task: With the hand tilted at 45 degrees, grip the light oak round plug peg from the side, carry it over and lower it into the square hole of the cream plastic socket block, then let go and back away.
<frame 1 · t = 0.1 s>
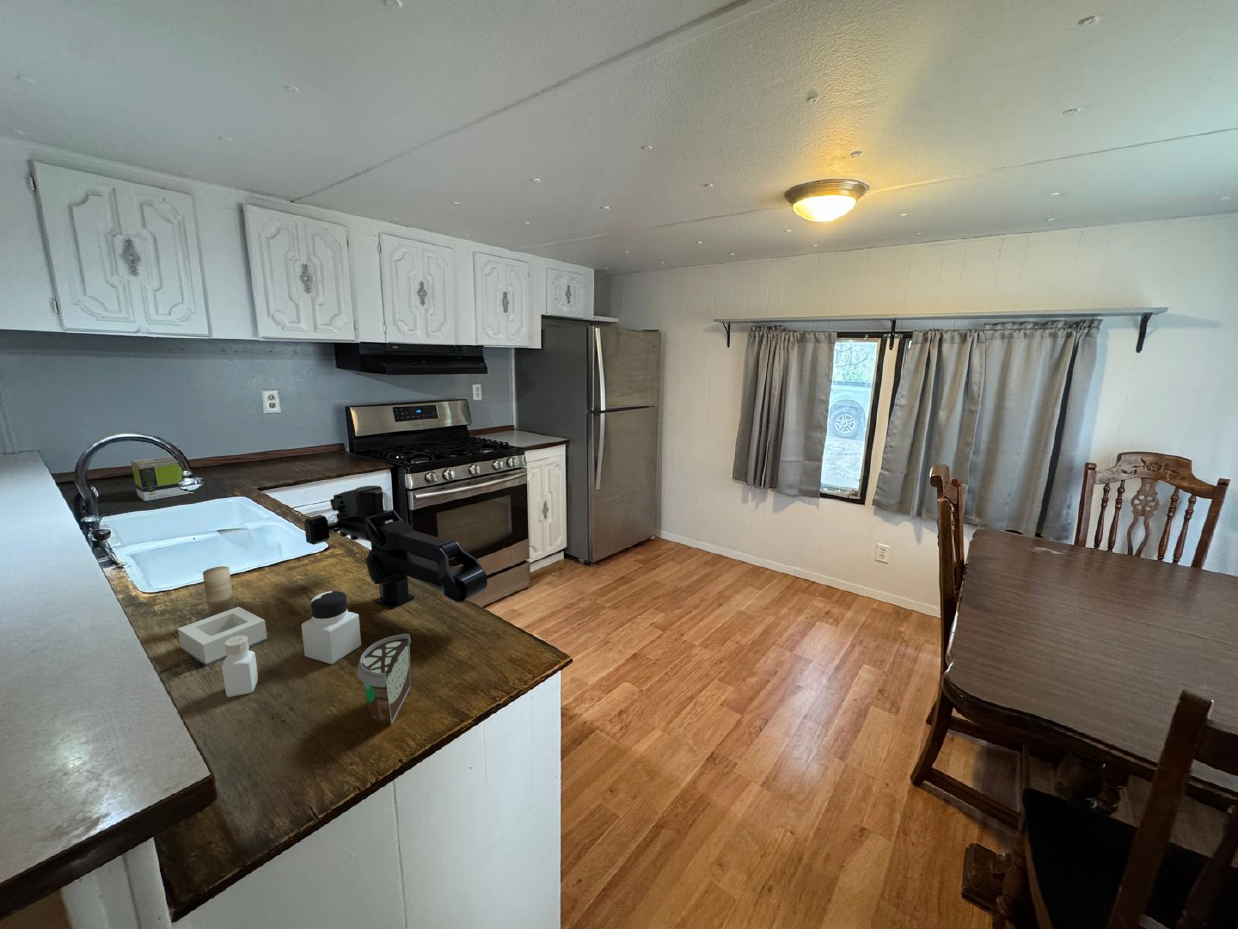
hand: (325, 515, 128), 17 cm above the counter, tool horizontal, fingers open, 9 cm apart
food container: (382, 706, 84), on the counter
oak plug peg: (223, 622, 108), on the counter
pepper shaker: (243, 690, 87), on the counter
tea box: (166, 495, 196), on the counter
socket block: (225, 644, 100), on the counter
medicine bottle: (333, 652, 99), on the counter
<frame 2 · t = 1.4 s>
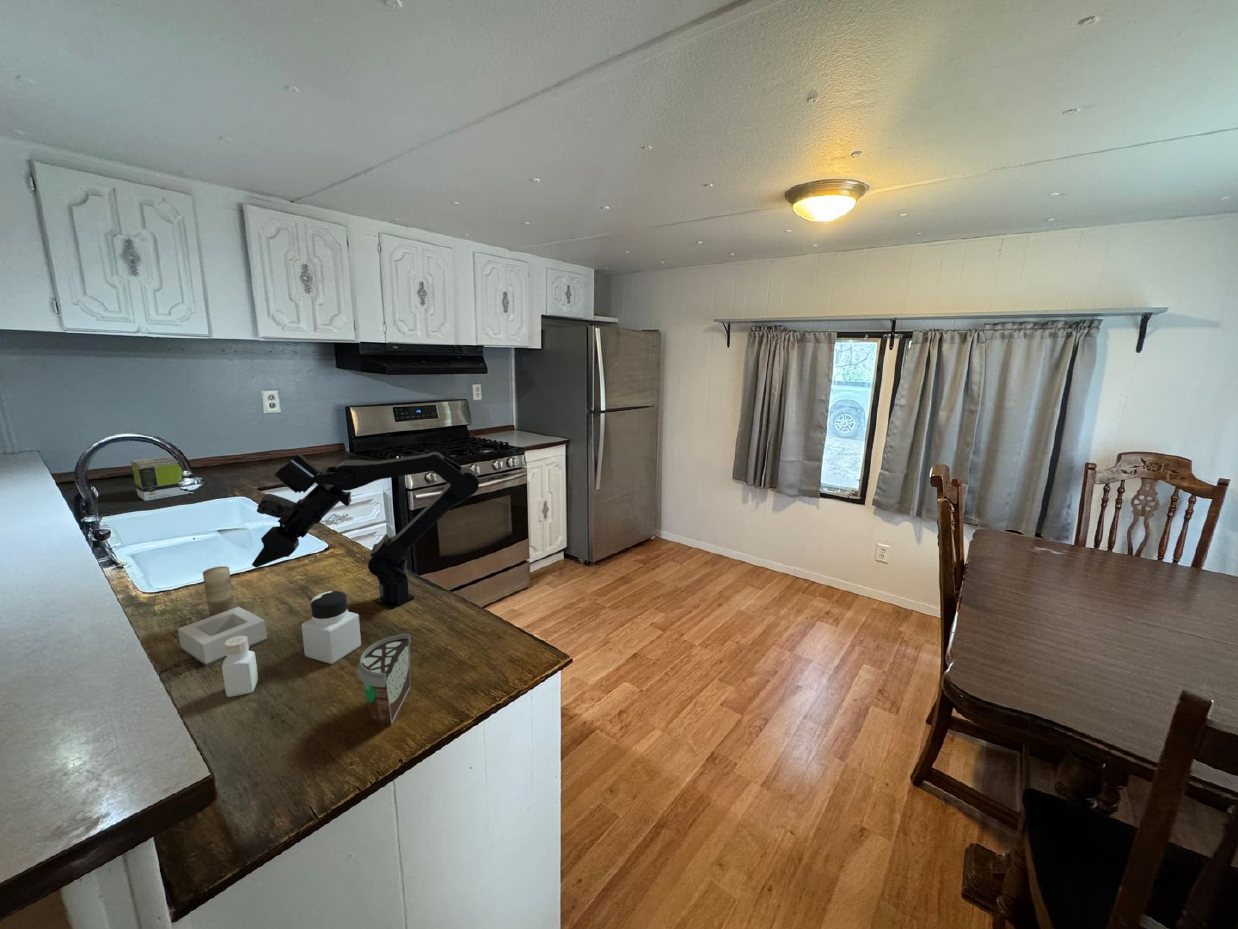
hand: (261, 557, 108), 14 cm above the counter, tool tilted 45°, fingers open, 9 cm apart
nothing on the counter moved.
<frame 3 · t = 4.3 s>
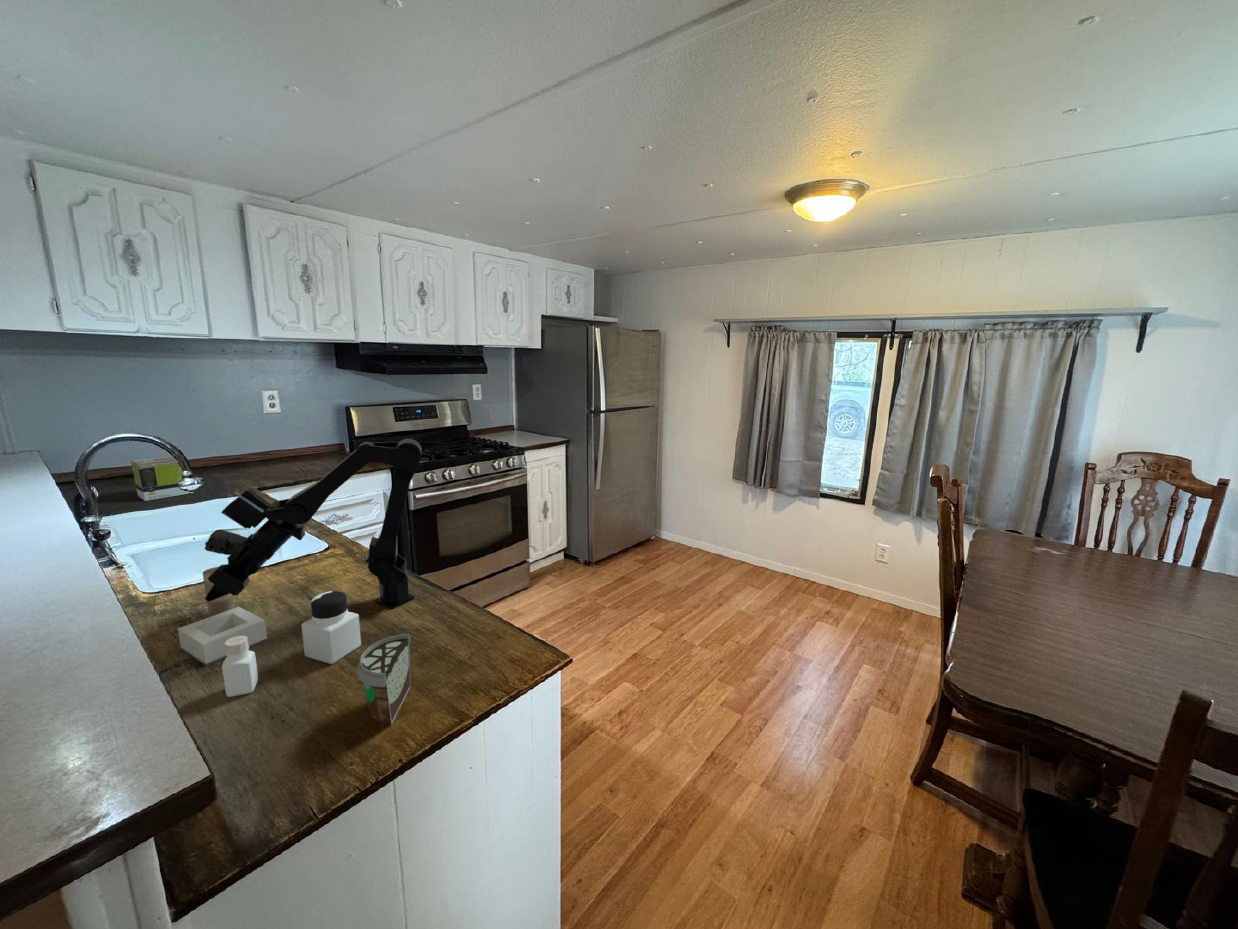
hand: (211, 595, 106), 7 cm above the counter, tool tilted 45°, fingers closed on oak plug peg, 4 cm apart
oak plug peg: (223, 622, 108), on the counter, touching gripper
everything else where it was.
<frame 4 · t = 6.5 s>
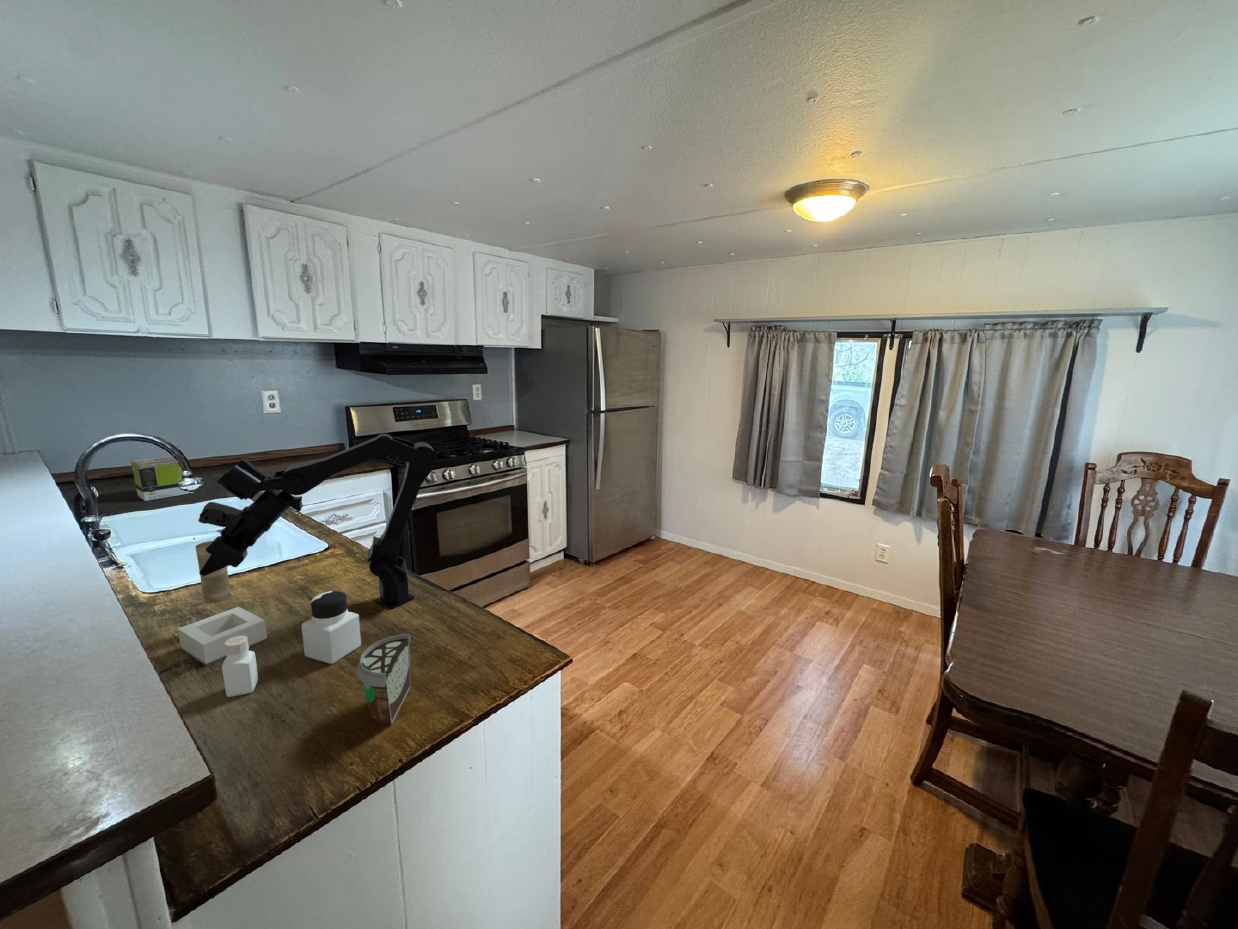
hand: (205, 570, 102), 13 cm above the counter, tool tilted 45°, fingers closed on oak plug peg, 4 cm apart
oak plug peg: (217, 598, 104), point 7 cm above the counter, touching gripper
everything else where it was.
when the fingers open (8 cm above the counter, at t = 8.8 s): oak plug peg stays where it is, resting on socket block.
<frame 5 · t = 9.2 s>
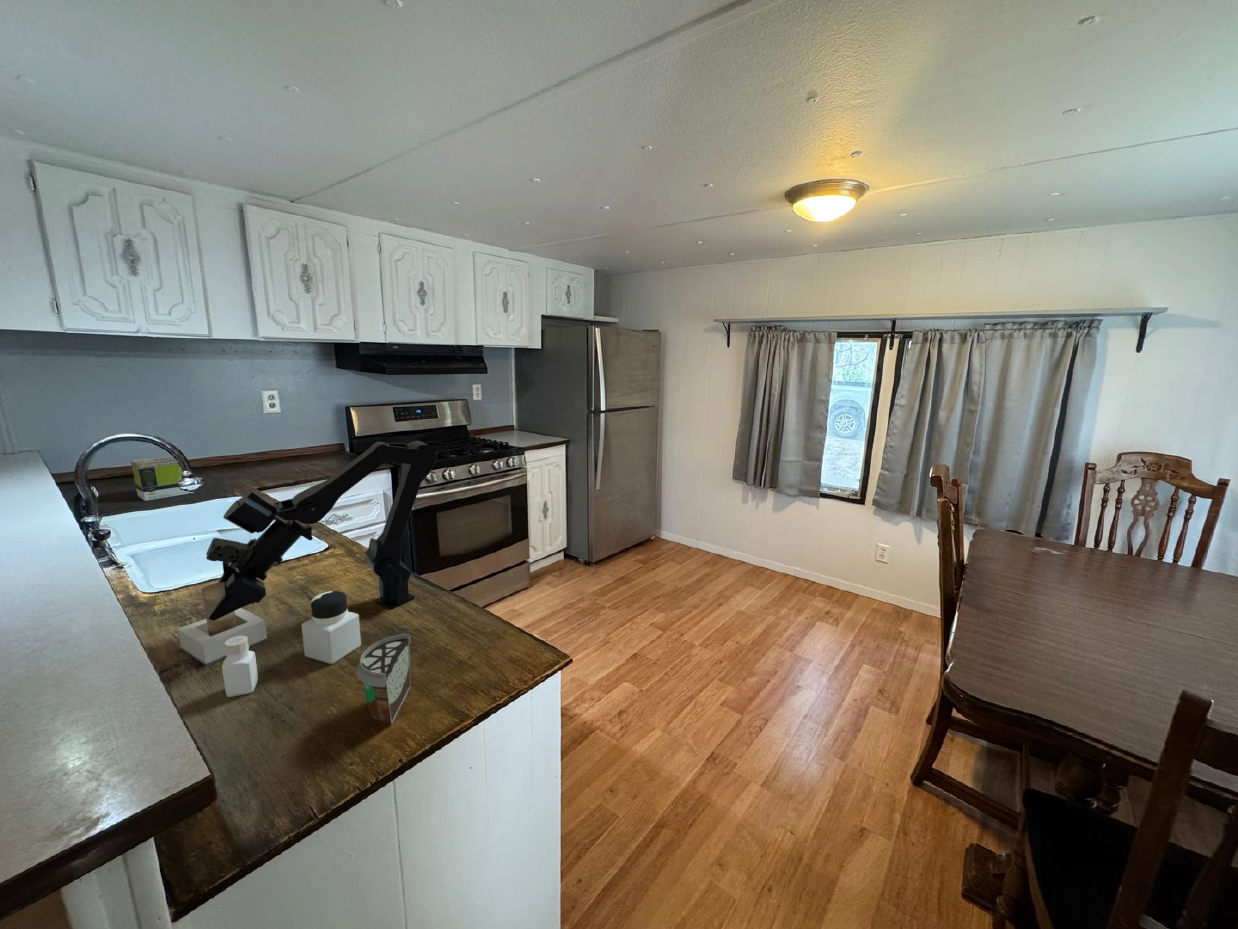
hand: (210, 610, 97), 8 cm above the counter, tool tilted 45°, fingers open, 9 cm apart
oak plug peg: (224, 642, 100), point 1 cm above the counter, touching socket block
everything else where it was.
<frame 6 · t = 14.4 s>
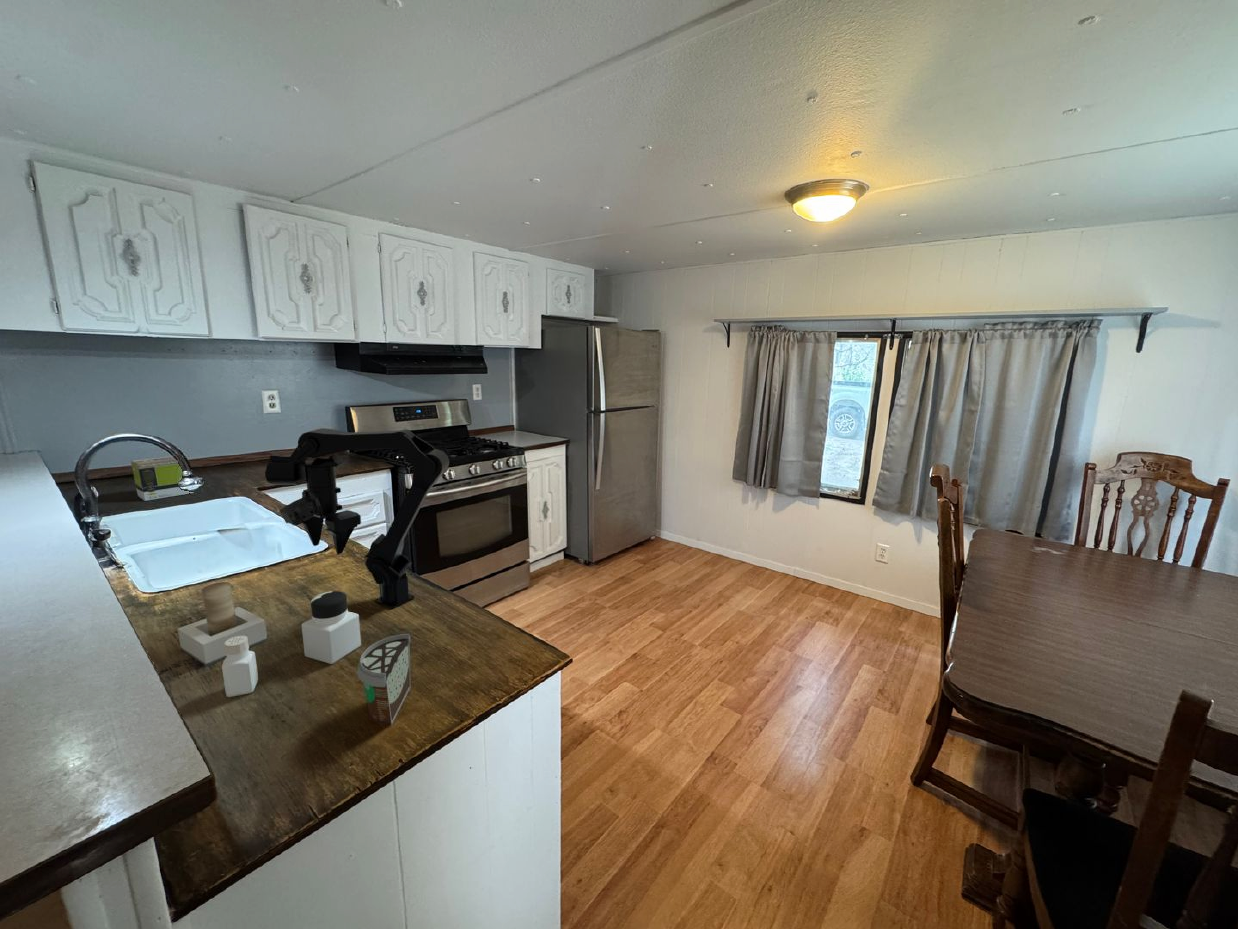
hand: (327, 549, 116), 13 cm above the counter, tool pointing down, fingers open, 9 cm apart
nothing on the counter moved.
at the end: oak plug peg 0.0 cm off-centre on the socket block, point 0.5 cm above the socket block's base; oak plug peg tilted 0°; the gripper is holding nothing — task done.
